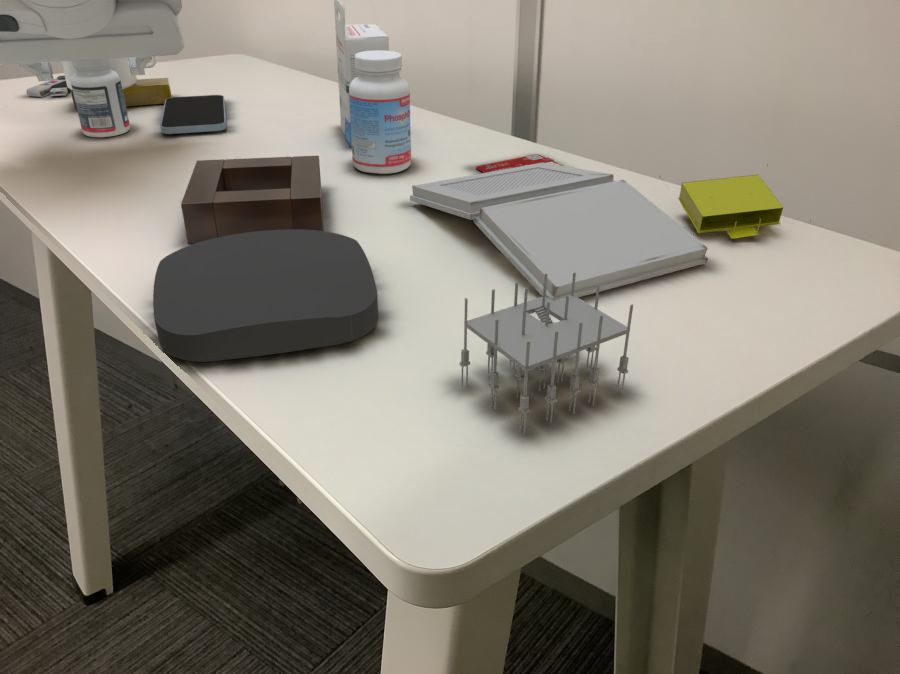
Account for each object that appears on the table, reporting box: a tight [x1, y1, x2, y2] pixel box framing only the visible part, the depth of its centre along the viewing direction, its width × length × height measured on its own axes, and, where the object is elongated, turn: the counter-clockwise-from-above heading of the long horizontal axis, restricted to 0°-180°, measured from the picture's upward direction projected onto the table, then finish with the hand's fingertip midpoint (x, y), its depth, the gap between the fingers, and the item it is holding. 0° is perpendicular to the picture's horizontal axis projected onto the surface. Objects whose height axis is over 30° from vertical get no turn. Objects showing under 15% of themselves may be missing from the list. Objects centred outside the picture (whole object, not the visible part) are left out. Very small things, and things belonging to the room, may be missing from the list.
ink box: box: [333, 0, 390, 148], centre depth 89 cm, size 8×5×15 cm, turn 14°
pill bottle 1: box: [71, 59, 131, 138], centre depth 92 cm, size 5×5×9 cm
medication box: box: [70, 77, 174, 111], centre depth 104 cm, size 12×3×4 cm
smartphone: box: [159, 94, 227, 135], centre depth 99 cm, size 7×1×15 cm
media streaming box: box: [152, 229, 379, 363], centre depth 56 cm, size 15×15×3 cm
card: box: [475, 153, 564, 173], centre depth 83 cm, size 8×1×5 cm
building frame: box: [459, 272, 634, 436], centre depth 47 cm, size 6×8×6 cm
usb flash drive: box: [25, 75, 71, 98], centre depth 111 cm, size 9×5×1 cm, turn 16°
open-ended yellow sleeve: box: [659, 163, 812, 240], centre depth 70 cm, size 10×9×3 cm
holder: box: [180, 155, 325, 244], centre depth 71 cm, size 11×11×4 cm
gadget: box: [409, 163, 709, 301], centre depth 68 cm, size 23×15×4 cm, turn 29°
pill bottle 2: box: [349, 50, 412, 175], centre depth 81 cm, size 6×6×11 cm
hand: (92, 72), depth 88 cm, fingers open, 8 cm apart
